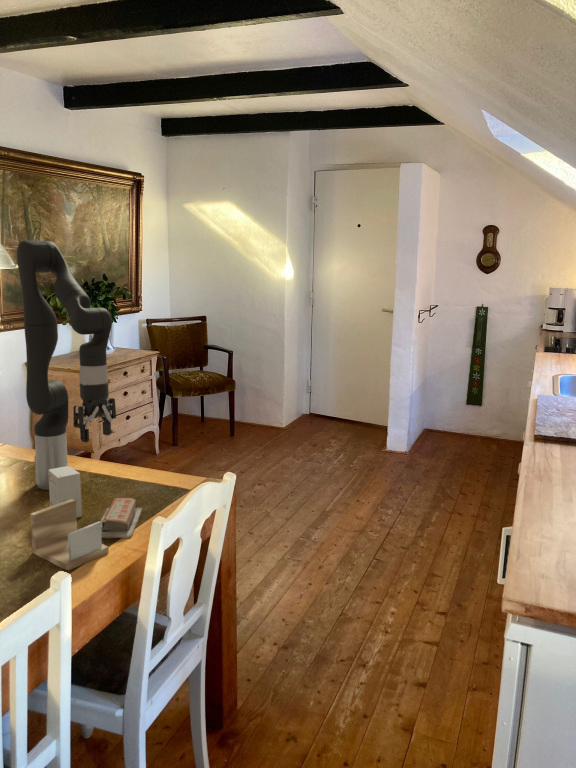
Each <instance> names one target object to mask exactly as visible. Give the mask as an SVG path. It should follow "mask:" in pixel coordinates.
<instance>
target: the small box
mask: <svg viewBox="0 0 576 768" xmlns="http://www.w3.org/2000/svg"><path fill="white" fill-rule="evenodd" d="M48 474H49V490H48V491H49V507H51V506H54V505H57V504H59V503H62V502H65V501H68V500H71V499H73V500H76V517H77V519H79V518H81V517H82V516H83V509H82V508H83V507H82V505H83V504H82V486H81V485H82V484H81V483H82V482H81V473H80V472H79V471H77V470H76V469H75V468H74V467H72V466H71V465H68V466H65V467H60V468H54V469H49V470H48Z"/></svg>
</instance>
